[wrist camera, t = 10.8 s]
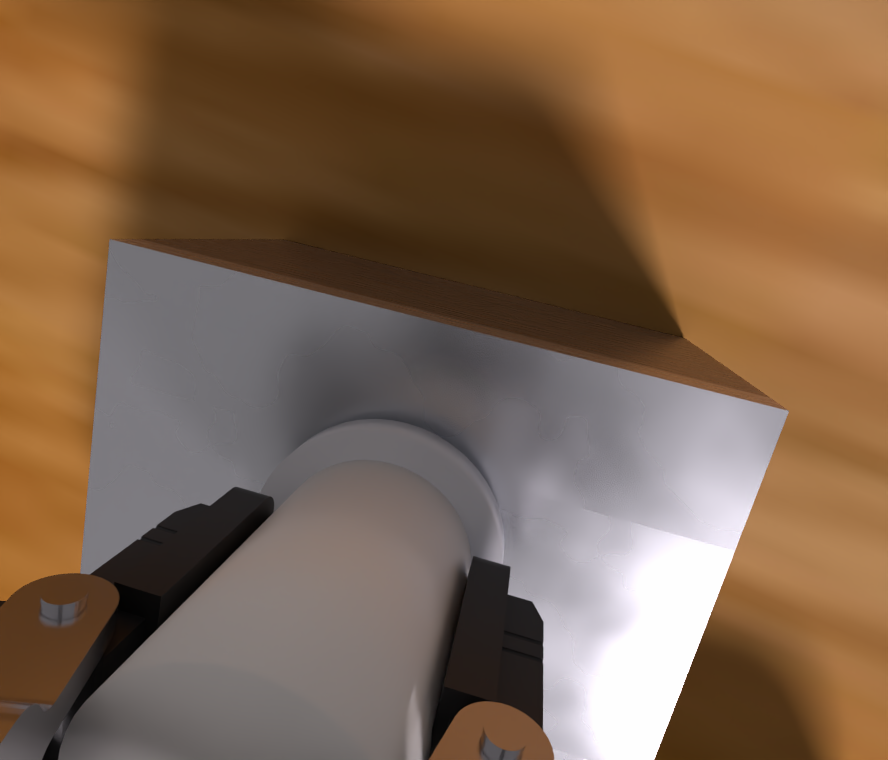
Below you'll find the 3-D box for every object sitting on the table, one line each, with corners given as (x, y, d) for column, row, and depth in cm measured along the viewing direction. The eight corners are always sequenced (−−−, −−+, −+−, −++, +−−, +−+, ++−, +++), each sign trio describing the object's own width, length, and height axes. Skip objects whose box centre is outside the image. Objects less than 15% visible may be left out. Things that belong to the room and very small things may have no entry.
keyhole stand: (283, 239, 22) (109, 238, 13) (684, 337, 20) (789, 410, 12) (222, 625, 26) (58, 823, 17) (554, 730, 24) (559, 1003, 16)
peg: (342, 358, 16) (21, 546, 6) (535, 409, 16) (517, 701, 6) (309, 532, 18) (-2, 917, 8) (487, 585, 17) (403, 1071, 7)
